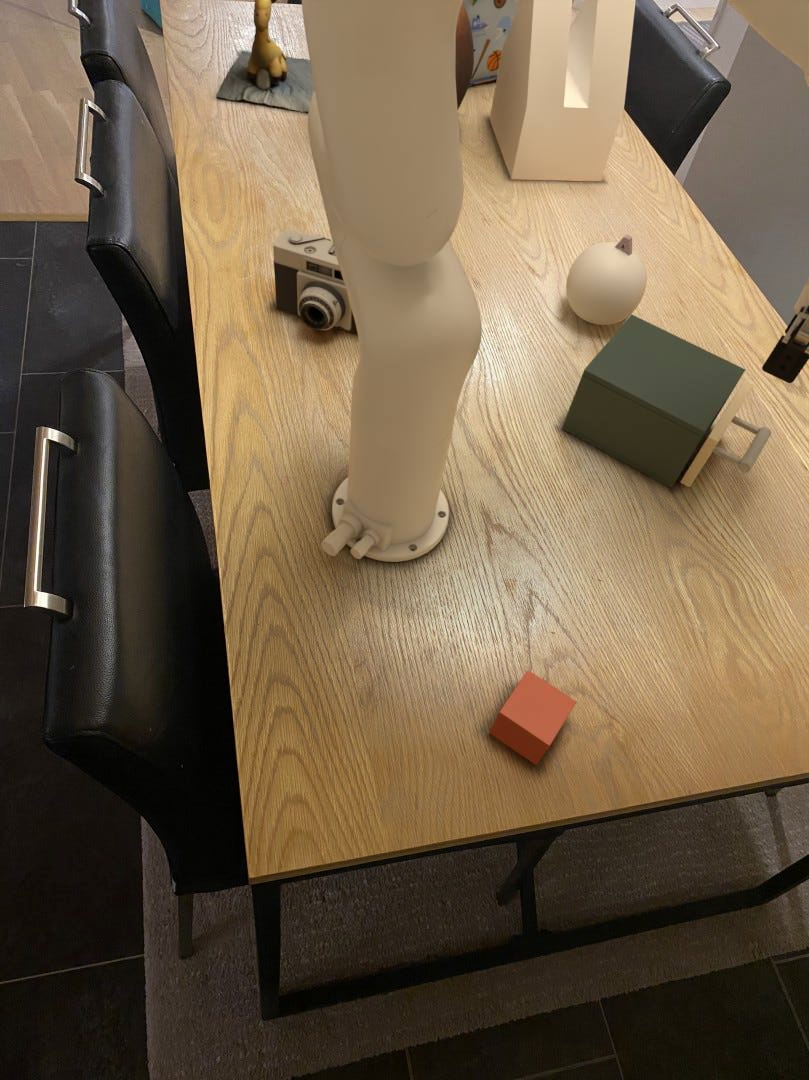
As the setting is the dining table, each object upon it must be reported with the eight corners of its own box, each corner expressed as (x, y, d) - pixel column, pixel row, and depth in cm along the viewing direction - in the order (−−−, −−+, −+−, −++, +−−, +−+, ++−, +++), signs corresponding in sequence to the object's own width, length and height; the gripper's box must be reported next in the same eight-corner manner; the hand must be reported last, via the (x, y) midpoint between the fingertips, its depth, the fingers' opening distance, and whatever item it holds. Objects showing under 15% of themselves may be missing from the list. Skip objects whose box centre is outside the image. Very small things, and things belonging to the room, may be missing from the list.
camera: (261, 325, 98) (256, 257, 90) (288, 289, 102) (285, 221, 94) (362, 357, 96) (366, 291, 88) (385, 319, 101) (391, 253, 93)
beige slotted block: (489, 119, 134) (520, -52, 114) (572, 121, 136) (617, -45, 116) (511, 179, 123) (549, 2, 103) (601, 181, 126) (655, 8, 105)
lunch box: (445, 98, 137) (464, -48, 119) (412, 73, 141) (425, -72, 123) (557, 70, 148) (590, -69, 130) (523, 47, 152) (550, -90, 134)
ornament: (634, 301, 108) (665, 225, 98) (627, 347, 102) (659, 270, 92) (563, 284, 109) (588, 206, 99) (552, 328, 103) (577, 250, 93)
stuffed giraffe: (216, 97, 129) (209, -13, 117) (242, 54, 140) (239, -50, 128) (308, 115, 130) (312, 8, 117) (328, 72, 141) (333, -30, 128)
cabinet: (710, 427, 95) (745, 369, 87) (671, 488, 88) (705, 431, 80) (606, 374, 99) (631, 313, 91) (561, 429, 92) (584, 369, 84)
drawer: (759, 449, 92) (791, 403, 86) (725, 507, 86) (758, 462, 80) (626, 381, 97) (648, 332, 90) (586, 432, 91) (606, 384, 85)
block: (535, 765, 68) (549, 746, 64) (488, 733, 69) (499, 711, 65) (562, 722, 70) (576, 701, 66) (515, 692, 72) (527, 669, 68)
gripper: (921, 254, 56) (797, 422, 71) (966, 163, 65) (847, 330, 80) (824, 214, 58) (722, 385, 73) (880, 131, 67) (780, 299, 82)
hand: (788, 355), depth 76 cm, fingers open, 6 cm apart
